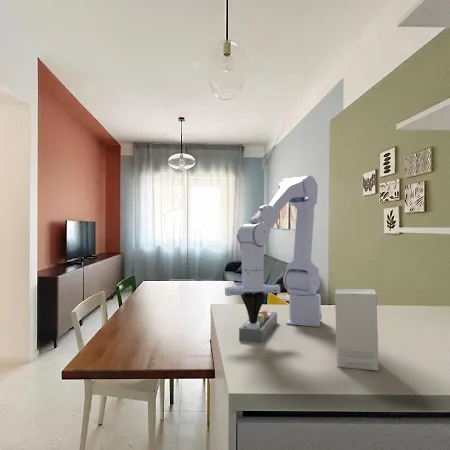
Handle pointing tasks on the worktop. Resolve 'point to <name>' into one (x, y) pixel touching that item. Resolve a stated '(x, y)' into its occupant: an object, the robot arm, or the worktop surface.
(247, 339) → the console
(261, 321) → the sage button
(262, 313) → the terracotta button
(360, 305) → the skincare box
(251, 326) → the blue button
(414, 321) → the worktop surface
